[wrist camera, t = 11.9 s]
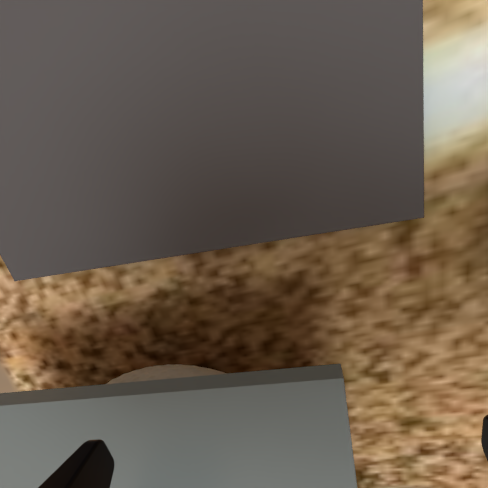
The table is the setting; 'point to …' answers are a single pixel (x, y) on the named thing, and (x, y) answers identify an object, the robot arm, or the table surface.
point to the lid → (189, 430)
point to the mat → (202, 125)
